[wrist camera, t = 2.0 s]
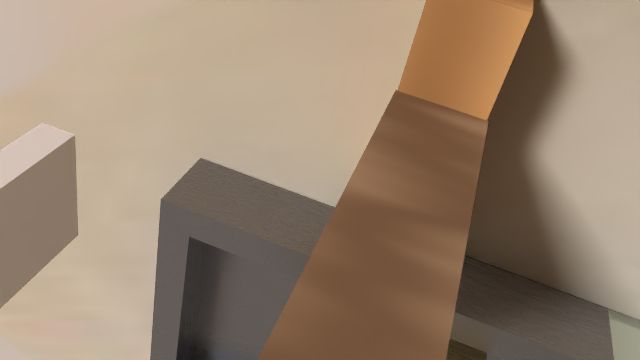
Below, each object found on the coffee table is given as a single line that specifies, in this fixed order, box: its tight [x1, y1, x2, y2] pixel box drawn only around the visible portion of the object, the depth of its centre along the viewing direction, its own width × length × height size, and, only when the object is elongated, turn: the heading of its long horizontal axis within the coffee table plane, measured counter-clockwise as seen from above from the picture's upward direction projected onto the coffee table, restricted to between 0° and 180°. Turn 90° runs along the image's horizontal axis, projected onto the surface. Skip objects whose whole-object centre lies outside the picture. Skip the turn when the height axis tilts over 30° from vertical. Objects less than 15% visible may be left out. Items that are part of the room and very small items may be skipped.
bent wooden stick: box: [257, 0, 534, 360], centre depth 14 cm, size 3×9×13 cm, turn 168°
